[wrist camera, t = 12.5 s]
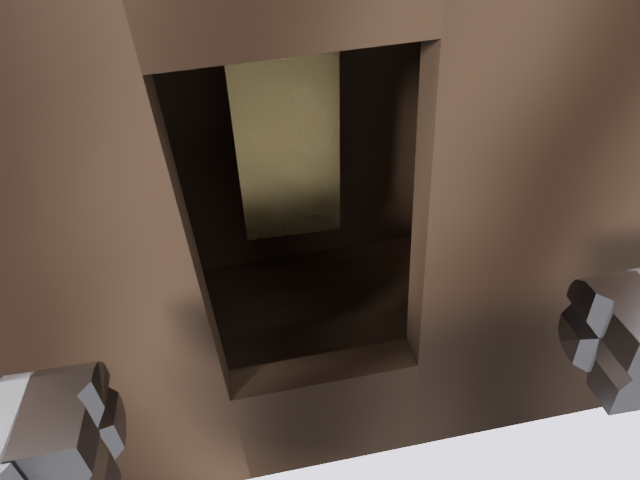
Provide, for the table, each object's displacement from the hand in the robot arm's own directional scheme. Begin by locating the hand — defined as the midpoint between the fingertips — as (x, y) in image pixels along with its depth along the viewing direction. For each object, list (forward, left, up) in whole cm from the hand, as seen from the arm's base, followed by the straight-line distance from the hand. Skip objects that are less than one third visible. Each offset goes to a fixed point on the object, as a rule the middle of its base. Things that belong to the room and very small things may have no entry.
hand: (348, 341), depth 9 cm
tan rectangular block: (0, 0, -12) cm, 12 cm away
